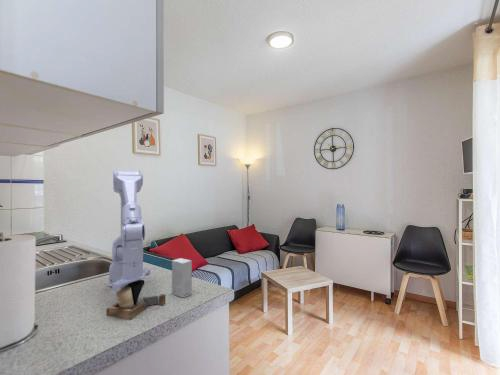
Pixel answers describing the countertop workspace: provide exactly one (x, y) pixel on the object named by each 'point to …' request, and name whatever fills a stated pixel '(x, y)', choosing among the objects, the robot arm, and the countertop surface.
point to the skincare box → (181, 277)
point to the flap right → (151, 300)
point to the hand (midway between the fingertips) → (132, 305)
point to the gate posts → (162, 299)
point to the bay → (125, 311)
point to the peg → (125, 298)
